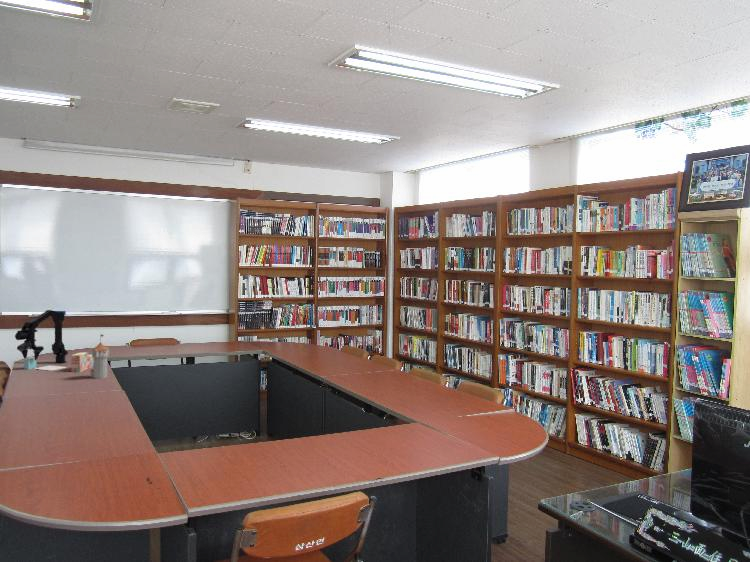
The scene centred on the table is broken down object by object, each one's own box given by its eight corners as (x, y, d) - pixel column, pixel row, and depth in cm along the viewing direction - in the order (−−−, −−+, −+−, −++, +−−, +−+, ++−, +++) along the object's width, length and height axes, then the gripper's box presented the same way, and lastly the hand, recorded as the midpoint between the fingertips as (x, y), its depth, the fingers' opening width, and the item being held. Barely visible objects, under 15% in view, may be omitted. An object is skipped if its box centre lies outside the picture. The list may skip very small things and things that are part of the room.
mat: (48, 366, 446) (48, 365, 446) (66, 367, 442) (66, 366, 442) (33, 369, 432) (33, 368, 432) (51, 370, 428) (51, 370, 428)
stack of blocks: (85, 366, 448) (85, 350, 447) (93, 366, 448) (93, 350, 447) (71, 372, 426) (71, 355, 426) (79, 372, 426) (79, 355, 426)
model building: (100, 379, 402) (100, 335, 401) (84, 378, 404) (84, 334, 403) (113, 375, 415) (113, 333, 414) (98, 374, 418) (98, 332, 417)
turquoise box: (31, 367, 439) (31, 356, 439) (36, 367, 438) (36, 357, 438) (24, 369, 432) (24, 358, 432) (28, 369, 431) (28, 358, 431)
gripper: (10, 339, 429) (10, 360, 430) (31, 340, 424) (31, 362, 425) (23, 337, 440) (23, 358, 441) (44, 338, 435) (44, 359, 436)
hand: (30, 359), depth 435 cm, fingers open, 9 cm apart
